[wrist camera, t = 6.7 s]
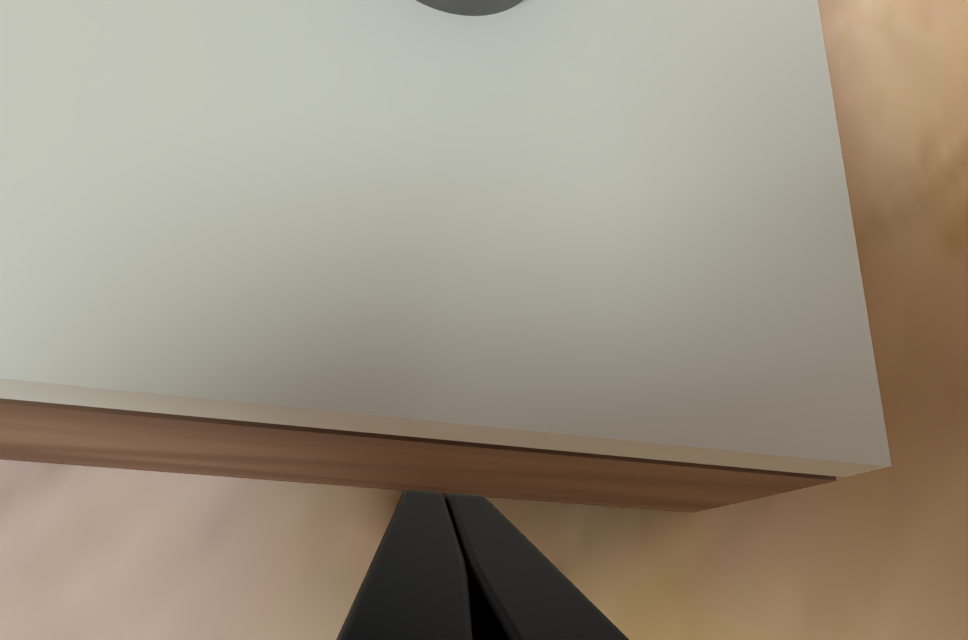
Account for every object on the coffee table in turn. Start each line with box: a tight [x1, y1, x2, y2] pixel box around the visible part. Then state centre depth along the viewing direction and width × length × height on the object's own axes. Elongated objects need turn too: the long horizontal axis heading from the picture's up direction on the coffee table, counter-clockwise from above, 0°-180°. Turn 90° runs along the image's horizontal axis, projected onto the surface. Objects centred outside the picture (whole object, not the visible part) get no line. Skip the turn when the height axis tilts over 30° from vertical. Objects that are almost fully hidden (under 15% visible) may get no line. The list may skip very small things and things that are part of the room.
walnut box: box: [0, 398, 836, 512], centre depth 15 cm, size 14×14×4 cm
